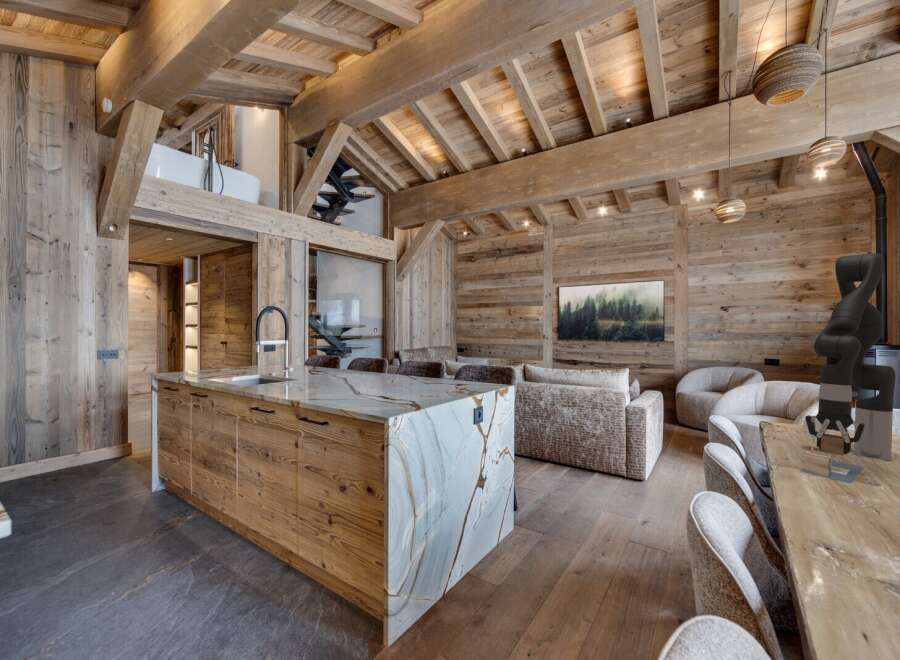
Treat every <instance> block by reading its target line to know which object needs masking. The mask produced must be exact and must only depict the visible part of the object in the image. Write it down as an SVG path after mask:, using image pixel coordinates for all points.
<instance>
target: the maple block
mask: <svg viewBox="0 0 900 660" xmlns="http://www.w3.org/2000/svg"><path fill="white" fill-rule="evenodd" d="M832 458H833V457H832V456H826V455H822V454H817V453H813V452H809V453H808V454H806V456H805V467H806V472H809V473H813V474H817V475H822V476H826V477H828V476H829V475H830V474H831V461H833V459H832ZM809 473H808V474H809ZM813 474H812V475H813ZM817 475H816V476H817ZM826 477H825V478H826Z"/></svg>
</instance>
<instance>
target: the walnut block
mask: <svg viewBox="0 0 900 660" xmlns="http://www.w3.org/2000/svg"><path fill="white" fill-rule="evenodd" d="M844 442H845V441H844V438H843V436H842V435H836V434H830V433H829V434H828V433H824V434H823V435H822V436H821V450H820V452H824V453H829V454H833V455H838V456H844V455H845V454H844Z"/></svg>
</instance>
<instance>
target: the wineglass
mask: <svg viewBox="0 0 900 660" xmlns="http://www.w3.org/2000/svg"><path fill="white" fill-rule="evenodd" d="M813 423H814V427H815V430H816V431H817V432H819V430H820V428H821V426H822V425H821V423H820V422H819V421H818V420H817V419H815V422H813ZM802 432H803V433H804V434H805V435H807V436H808V437H810V442H811V448H810V450H812V451H814V450H815V448H814V443H815V438H817V437H816V436H815V435H811V434H810V433H809V430H808V426H807V423H806V419H805V418H804V420H803V424H802Z"/></svg>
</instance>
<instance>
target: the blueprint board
mask: <svg viewBox="0 0 900 660" xmlns="http://www.w3.org/2000/svg"><path fill="white" fill-rule="evenodd" d="M863 469H864V466H859V465H854V464H849V463H846V462H845V463H844V462H841V461H835V460H832V461H831V474H830V475H829V476H828V477H826V476H822V475H817V474H813V473H809V472H806V466H805V467H804V468H803V469H802V470H801V471H800V472H801V473H805V474H809V475H813V476H818V477H822V478H825V479H826V478H827V479H830V480H835V481H838V482H844V483H848V484H851V483H852V482H853V481H854V479H856V478H857V476H858V475H859V474H860V472H861V471H862V470H863Z"/></svg>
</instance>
